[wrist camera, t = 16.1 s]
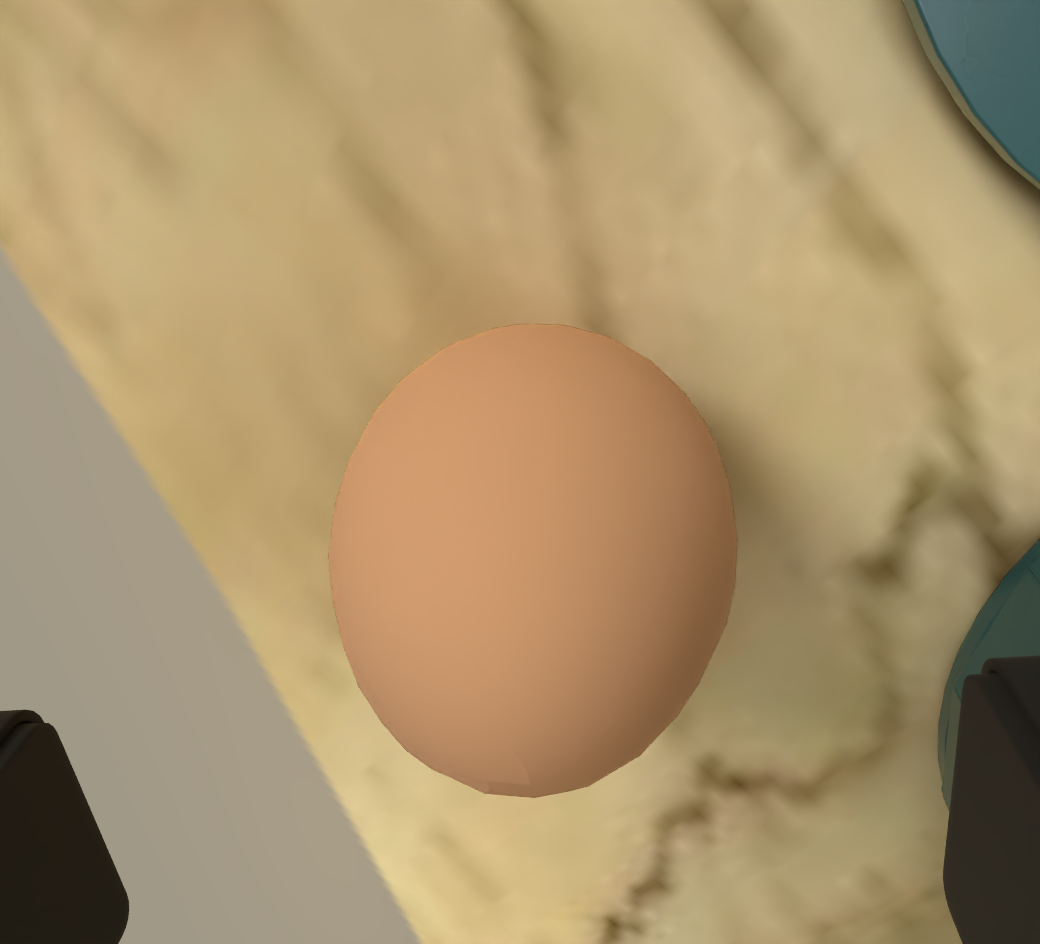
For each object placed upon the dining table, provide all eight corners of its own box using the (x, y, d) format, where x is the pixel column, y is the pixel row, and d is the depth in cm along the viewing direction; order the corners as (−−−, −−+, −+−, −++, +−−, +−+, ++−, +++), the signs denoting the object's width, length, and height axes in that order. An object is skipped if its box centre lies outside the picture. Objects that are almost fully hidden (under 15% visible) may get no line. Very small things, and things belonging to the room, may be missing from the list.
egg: (771, 387, 16) (916, 704, 9) (584, 603, 19) (576, 993, 11) (501, 200, 15) (413, 387, 8) (338, 454, 18) (152, 782, 10)
